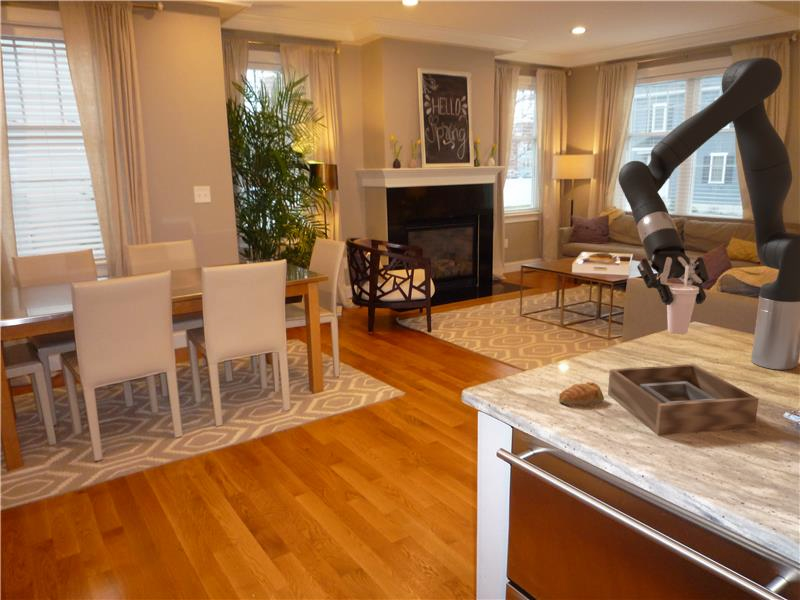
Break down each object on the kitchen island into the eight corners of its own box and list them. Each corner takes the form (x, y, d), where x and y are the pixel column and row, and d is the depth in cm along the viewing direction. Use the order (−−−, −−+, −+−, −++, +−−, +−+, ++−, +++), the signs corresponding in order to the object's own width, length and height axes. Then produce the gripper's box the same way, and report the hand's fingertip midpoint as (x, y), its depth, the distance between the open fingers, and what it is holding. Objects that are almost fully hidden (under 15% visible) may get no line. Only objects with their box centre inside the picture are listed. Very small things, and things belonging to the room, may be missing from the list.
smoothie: (698, 336, 118) (705, 269, 115) (664, 335, 119) (671, 268, 116) (690, 328, 124) (697, 263, 121) (658, 326, 126) (664, 262, 122)
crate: (691, 389, 132) (693, 364, 130) (754, 427, 112) (758, 398, 111) (607, 394, 129) (609, 369, 128) (658, 435, 110) (660, 405, 109)
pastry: (571, 411, 122) (572, 394, 121) (551, 400, 128) (551, 383, 127) (606, 403, 125) (607, 386, 124) (584, 392, 131) (585, 377, 130)
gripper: (635, 227, 123) (660, 294, 115) (699, 226, 125) (728, 291, 116) (621, 248, 130) (644, 313, 121) (682, 247, 131) (709, 310, 122)
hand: (685, 302), depth 119 cm, fingers closed on smoothie, 6 cm apart
